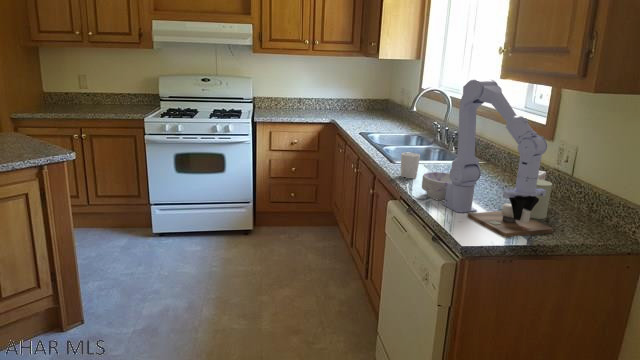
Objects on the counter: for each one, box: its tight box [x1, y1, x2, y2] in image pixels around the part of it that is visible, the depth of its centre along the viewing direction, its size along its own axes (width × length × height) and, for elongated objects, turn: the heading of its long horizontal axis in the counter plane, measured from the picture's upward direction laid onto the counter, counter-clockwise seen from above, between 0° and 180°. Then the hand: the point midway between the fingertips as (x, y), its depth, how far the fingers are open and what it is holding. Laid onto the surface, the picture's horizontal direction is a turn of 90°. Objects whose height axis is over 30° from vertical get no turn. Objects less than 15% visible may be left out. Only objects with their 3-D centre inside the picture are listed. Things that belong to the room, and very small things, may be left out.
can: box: [530, 179, 553, 220], centre depth 161 cm, size 9×9×12 cm
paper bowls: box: [421, 171, 451, 202], centre depth 176 cm, size 15×15×8 cm
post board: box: [467, 210, 554, 238], centre depth 150 cm, size 18×18×3 cm
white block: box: [501, 203, 531, 223], centre depth 147 cm, size 10×5×4 cm, turn 19°
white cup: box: [400, 151, 421, 179], centre depth 203 cm, size 8×8×10 cm
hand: (520, 219), depth 146 cm, fingers closed on white block, 2 cm apart
